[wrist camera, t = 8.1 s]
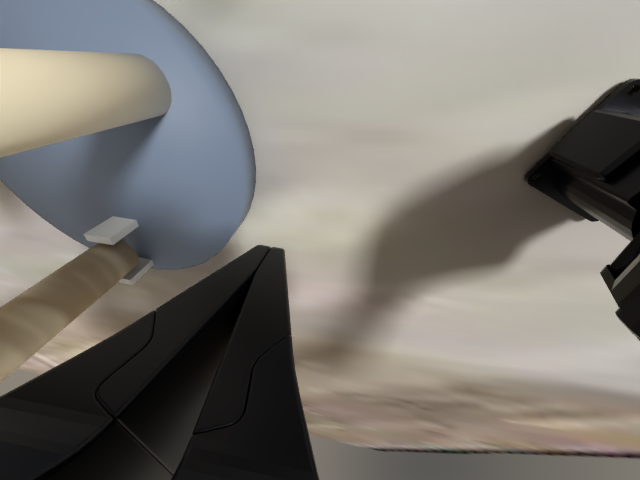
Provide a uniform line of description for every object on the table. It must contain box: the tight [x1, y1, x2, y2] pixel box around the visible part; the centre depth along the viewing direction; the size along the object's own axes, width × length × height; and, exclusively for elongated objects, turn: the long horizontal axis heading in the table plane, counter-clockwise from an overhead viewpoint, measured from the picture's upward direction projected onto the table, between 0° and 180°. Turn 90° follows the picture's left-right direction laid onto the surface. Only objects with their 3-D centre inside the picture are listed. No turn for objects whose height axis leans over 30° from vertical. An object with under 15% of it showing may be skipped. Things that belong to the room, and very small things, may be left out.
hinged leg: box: [0, 237, 139, 383], centre depth 15 cm, size 3×3×13 cm
